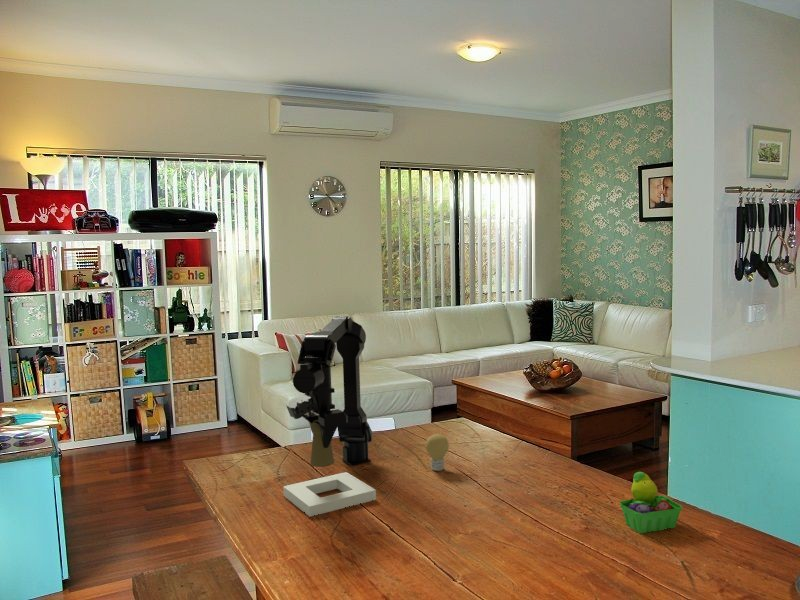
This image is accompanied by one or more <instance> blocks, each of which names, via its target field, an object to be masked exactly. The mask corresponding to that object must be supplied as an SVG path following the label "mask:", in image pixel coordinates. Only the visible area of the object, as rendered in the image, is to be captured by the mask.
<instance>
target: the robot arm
mask: <svg viewBox="0 0 800 600" xmlns="http://www.w3.org/2000/svg"><path fill="white" fill-rule="evenodd" d="M366 334H367V333H366V331H365V329H364V328H363V326H362V325H361V324H360V323H357V322H355V321H354V320H353V319H352V317H350V316H348V315H344V316H343V315H341V316H340V315H338V316H332V319H331V321H330V322H328V324H326V325H325V326H324V327H323V328H322V329H321V330H320V331H316V332H315V331H314V332H310V333H308V334H306V335H304V339H302V341H301V345H300V351H299V354H298V359H297V364H298V365H299V370H297V371H296V372H295V373H294V375H293V378H292V385H293V387H294V388H295V390H297V391H298V393H302V394H303V395H302V396H299V397H296V398H295V399H293V400H292V401H289V402H288V403H286V405H285V406H286V409H287V410H288V411H287V412H288V413H289V416H290V418H294V419H295V420H298V419H300V418H303V419H304V420H306V421H307V422H308V423H309V426H310V427H311V424H312V422H313V421H315V420H319V422H317V423H315V424H316V425H317V426H318V427H320V429H321V435H322V442H323V446H324V448H328V447H329V444H330V442H331V443H332V440H333V438H334V436H335V433H336V431H337V432H338V433H337V434H338V439H339V443H342V442H343V444H344V445H343V446H342V458H341V460H342V461H343V462H345V463H347V464H349V465H350V466H356V465H359V464H360V465H361V464H364V463H370V462H372V459H371V458H369V444H368V443H370V442H372V441H373V438H372V437H373V430H372V429H371V426H370V424H369V422H368V419H367V418H368V417H367V414H366V412H365V411H364V409H363V408H362V406H361V405H362V404H361V379H360V378H361V377H360V376H361V375H360V374H361V373H360V356H361V354H362V353H363V351H364V349H365V343H366V340H367V335H366ZM335 351H337V353H338V354H339V355H340V357H341V358H342V369H343V370H342V372H343V373H342V374H343V375H342V376H343V402H344V405H343V406H344V409H343V410H341V409H337V408H336V405H335V404H334V403H333V399H332V398H333V396H332V394H334V393H335V388H334V387H332V367H331V364H332V363H333V362H332V361H333V359H334V356H335Z"/></svg>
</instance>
